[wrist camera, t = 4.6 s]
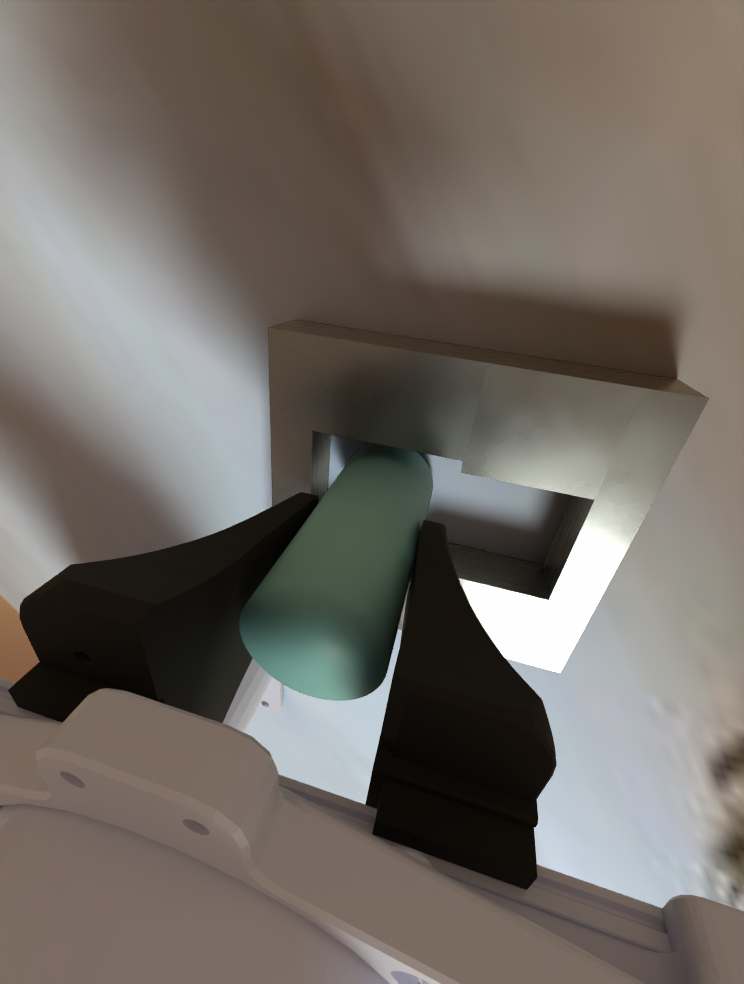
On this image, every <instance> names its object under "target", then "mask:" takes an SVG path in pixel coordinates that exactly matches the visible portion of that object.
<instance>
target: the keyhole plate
mask: <svg viewBox="0 0 744 984" xmlns="http://www.w3.org/2000/svg"><path fill="white" fill-rule="evenodd" d="M268 342H269V384H270V426H271V467H272V507H273V506H275V505H277V504H278V503H280V502H282V501H284V500H286V499H288V498H290V497H292V496H294V495H296V494H298V493H300V492H304V493H308V494H313V495H317V496H319V502H320V501H321V499H322V498H323V496H324V495H325V494H326V492H327V491H328V477H329V460H330V443H331V435H336V436H341V437H346V438H351V439H356V440H361V441H366V442H371V443H376V444H381V445H386V446H391V447H396V448H401V449H406V450H411V451H416V452H421V453H426V454H431V455H436V456H441V457H446V458H451V459H456V460H461V461H463V464H462V471H461V473H466V474H471V475H476V476H481V477H485V478H490V479H495V480H500V481H505V482H510V483H515V484H520V485H524V486H529V487H534V488H539V489H544V490H549V491H554V492H558V493H563V494H568V495H572V496H571V498H570V500H569V503H568V505H567V508H566V510H565V512H564V515H563V517H562V520H561V522H560V524H559V527H558V529H557V532H556V534H555V536H554V539H553V541H552V544H551V546H550V548H549V551H548V553H547V555H546V558H545V560H544V563H543V565H541V564H537V563H532V562H528V561H524V560H519V559H515V558H511V557H507V556H502V555H498V554H494V553H490V552H485V551H481V550H477V549H472V548H468V547H464V546H460V545H455V544H451V543H448V547H449V551H450V554H451V558H452V561H453V564H454V567H455V570H456V573H457V575H458V578H459V581H460V583H461V585H462V588H463V590H464V592H465V594H466V597H467V599H468V601H469V603H470V605H471V606H472V608H473V610H474V612H475V614H476V616H477V617H478V619H479V621H480V622H481V624H482V626H483V627H484V629H485V631H486V632H487V634H488V635H489V636H490V638H491V639H492V641H493V642H494V644H495V645H496V647H497V648H498V649H499V651H500V652H501V654H502V655H503V656H504V657H505V658H507V659H511V660H514V661H518V662H522V663H525V664H529V665H533V666H536V667H540V668H544V669H547V670H551V671H555V672H558V673H560V672H561V671H562V669H563V667H564V665H565V663H566V661H567V659H568V658H569V656H570V654H571V652H572V650H573V648H574V647H575V645H576V643H577V641H578V639H579V637H580V636H581V634H582V632H583V630H584V628H585V626H586V625H587V623H588V621H589V619H590V617H591V615H592V613H593V612H594V610H595V608H596V606H597V604H598V602H599V601H600V599H601V597H602V595H603V593H604V591H605V590H606V588H607V586H608V584H609V582H610V580H611V579H612V577H613V575H614V573H615V571H616V569H617V567H618V566H619V564H620V562H621V560H622V558H623V556H624V555H625V553H626V551H627V549H628V547H629V545H630V544H631V542H632V540H633V538H634V536H635V534H636V533H637V531H638V529H639V527H640V525H641V523H642V521H643V520H644V518H645V516H646V514H647V512H648V510H649V509H650V507H651V505H652V503H653V501H654V499H655V498H656V496H657V494H658V492H659V490H660V488H661V487H662V485H663V483H664V481H665V479H666V477H667V475H668V474H669V472H670V470H671V468H672V466H673V464H674V463H675V461H676V459H677V457H678V455H679V453H680V452H681V450H682V448H683V446H684V444H685V442H686V441H687V439H688V437H689V435H690V433H691V431H692V429H693V428H694V426H695V424H696V422H697V420H698V418H699V417H700V415H701V413H702V411H703V409H704V407H705V406H706V404H707V402H708V400H709V398H707V397H706V396H704V395H702V394H701V393H699V392H698V391H696V390H694V389H693V388H691V387H689V386H688V385H686V384H685V383H683V382H681V381H680V380H678V379H672V378H666V377H659V376H653V375H646V374H640V373H633V372H627V371H621V370H614V369H608V368H601V367H595V366H589V365H582V364H576V363H569V362H563V361H557V360H550V359H544V358H537V357H531V356H525V355H518V354H512V353H505V352H499V351H493V350H486V349H480V348H473V347H467V346H460V345H454V344H448V343H441V342H435V341H428V340H422V339H416V338H409V337H403V336H396V335H390V334H384V333H377V332H371V331H364V330H358V329H352V328H345V327H339V326H332V325H326V324H320V323H313V322H307V321H300V320H292V321H289V322H286V323H282V324H279V325H275V326H272V327H268ZM319 502H318V503H319ZM409 583H410V582H409ZM408 588H409V586H408ZM407 593H408V590H407ZM406 598H407V594H406ZM406 598H405V602H404V606H403V610H402V614H401V618H400V622H399V626H398V629H401V630H402V629H403V621H404V613H405V606H406Z"/></svg>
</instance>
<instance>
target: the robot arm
mask: <svg viewBox="0 0 744 984" xmlns="http://www.w3.org/2000/svg"><path fill="white" fill-rule="evenodd" d="M318 502H319V496H317V495H313V494H308V493H304V492H300V493H298V494H296V495H294V496H292V497H290V498H288V499H286V500H284V501H282V502H280V503H278V504H277V505H275V506H273V507H271V508H269V509H267V510H265V511H263V512H261V513H259V514H257V515H255V516H253V517H251V518H249V519H247V520H245V521H242V522H240V523H238V524H236V525H234V526H231V527H229V528H227V529H224V530H222V531H219V532H217V533H214V534H212V535H209V536H206V537H203V538H200V539H197V540H194V541H191V542H188V543H184V544H180V545H177V546H173V547H170V548H166V549H162V550H158V551H154V552H149V553H145V554H140V555H135V556H130V557H124V558H118V559H112V560H105V561H97V562H90V563H82V564H73V565H70V566H68V567H67V568H66V569H64V570H63V571H62V572H60V573H59V574H57V575H56V576H55V577H53V578H52V579H51V580H49V581H48V582H46V583H45V584H44V585H42V586H41V587H40V588H38V589H37V590H35V591H34V592H33V593H31V594H30V595H28V596H27V597H26V598H24V600H23V601H22V603H21V605H20V620H21V623H22V626H23V628H24V630H25V632H26V634H27V636H28V638H29V641H30V642H31V645H32V647H33V649H34V651H35V653H36V655H37V657H38V659H39V661H40V662H39V663H38V664H37V665H36V666H35V667H33V668H32V669H31V670H30V671H29V672H28V673H27V674H26V675H24V676H23V677H22V678H21V679H20V680H19V681H18V682H16V683H14V682H12V681H9V680H6V679H3V678H0V984H744V911H741V910H738V909H735V908H732V907H729V906H726V905H723V904H720V903H717V902H714V901H711V900H708V899H706V898H702V897H698V896H694V895H679V896H676V897H673V898H672V899H670V900H669V901H668V902H667V903H666V905H665V906H664V907H663V908H660V907H657V906H654V905H651V904H648V903H645V902H642V901H640V900H637V899H634V898H631V897H628V896H625V895H622V894H620V893H617V892H614V891H611V890H608V889H605V888H602V887H599V886H597V885H594V884H591V883H588V882H585V881H582V880H579V879H577V878H574V877H571V876H568V875H565V874H562V873H559V872H556V871H554V870H551V869H548V868H545V867H542V866H539V865H537V864H536V851H535V838H534V827H536V826H537V823H538V812H537V800H536V799H537V798H538V796H539V795H540V793H541V792H542V790H543V789H544V787H545V786H546V784H547V783H548V781H549V780H550V778H551V777H552V775H553V773H554V770H555V767H556V754H555V746H554V741H553V736H552V732H551V728H550V725H549V721H548V717H547V714H546V711H545V708H544V704H543V701H542V699H541V698H540V697H539V696H538V695H537V694H536V693H535V691H534V690H533V689H532V688H531V687H530V686H529V685H528V684H527V683H526V682H525V681H524V680H523V679H522V677H521V676H520V675H519V674H518V673H517V672H516V671H515V670H514V669H513V667H512V666H511V665H510V664H509V662H508V661H507V660H506V659H505V657H504V656H503V655H502V654H501V652H500V651H499V649H498V648H497V647H496V645H495V644H494V642H493V641H492V639H491V638H490V636H489V635H488V634H487V632H486V631H485V629H484V627H483V626H482V624H481V622H480V621H479V619H478V617H477V616H476V614H475V612H474V610H473V608H472V606H471V605H470V603H469V601H468V599H467V597H466V594H465V592H464V590H463V588H462V585H461V583H460V581H459V578H458V575H457V573H456V570H455V567H454V564H453V561H452V558H451V554H450V551H449V547H448V542H447V537H446V528H445V526H444V525H443V524H440V523H436V522H431V521H427V520H423V523H422V526H421V530H420V534H419V539H418V544H417V549H416V555H415V561H414V567H413V571H412V575H411V579H410V583H409V588H408V593H407V598H406V606H405V613H404V621H403V629H402V636H401V644H400V649H399V653H398V657H397V661H396V665H395V669H394V674H393V679H392V683H391V688H390V693H389V698H388V702H387V707H386V712H385V717H384V721H383V726H382V731H381V736H380V740H379V744H378V749H377V753H376V757H375V762H374V766H373V771H372V776H371V781H370V786H369V790H368V795H367V800H366V805H364V804H362V803H359V802H356V801H353V800H350V799H347V798H344V797H341V796H339V795H336V794H333V793H330V792H327V791H324V790H321V789H319V788H316V787H313V786H310V785H307V784H304V783H301V782H298V781H296V780H293V779H290V778H287V777H284V776H281V775H279V774H278V771H277V768H276V765H275V763H274V761H273V759H272V756H271V754H270V752H269V751H268V750H267V749H266V748H264V747H263V746H262V745H261V744H260V743H259V742H258V741H257V740H255V739H254V738H253V737H252V736H250V735H248V734H245V733H244V731H245V730H246V728H247V726H248V724H249V722H250V720H251V718H252V716H253V714H254V712H255V710H256V709H257V707H258V706H260V707H263V708H266V709H269V710H272V711H279V710H280V709H281V707H282V705H283V684H282V683H280V682H279V681H277V680H276V679H274V678H273V677H272V676H270V675H269V674H268V673H267V672H266V671H264V670H263V669H262V668H261V667H260V666H259V665H258V664H257V663H256V661H255V660H254V659H253V658H252V656H251V655H250V653H249V652H248V650H247V649H246V647H245V645H244V642H243V640H242V637H241V633H240V615H241V612H242V610H243V608H244V606H245V605H246V603H247V602H248V600H249V599H250V598H251V596H252V595H253V593H254V592H255V591H256V589H257V588H258V586H259V585H260V584H261V582H262V581H263V580H264V578H265V577H266V575H267V574H268V573H269V571H270V570H271V568H272V567H273V566H274V564H275V563H276V562H277V560H278V559H279V557H280V556H281V555H282V553H283V552H284V550H285V549H286V548H287V546H288V545H289V544H290V542H291V541H292V539H293V538H294V537H295V535H296V534H297V532H298V531H299V530H300V528H301V527H302V525H303V524H304V523H305V521H306V520H307V519H308V517H309V516H310V514H311V513H312V512H313V510H314V509H315V507H316V506H317V505H318Z"/></svg>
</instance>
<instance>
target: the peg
mask: <svg viewBox="0 0 744 984" xmlns="http://www.w3.org/2000/svg"><path fill="white" fill-rule="evenodd" d="M432 490H433V479H432V474H431V471H430V469H429V467H428V465H427V463H426V462H425V460H424V459H423V458H422V457H421V456H420V455H419V454H418V453H417V452H416V451H411V450H406V449H401V448H396V447H391V446H386V445H381V444H376V443H370V444H367V445H365V446H363V447H362V448H360V449H359V450H358V451H357V452H356V453H355V454H354V455H353V456H352V458H351V459H350V460H349V462H348V463H347V465H346V466H345V467H344V469H343V470H342V471H341V473H340V474H339V476H338V477H337V478H336V480H335V481H334V483H333V484H332V485H331V487H330V488H329V489H328V491H327V492H326V494H325V495H324V496H323V498H322V499H321V501H320V502H319V503H318V505H317V506H316V507H315V509H314V510H313V512H312V513H311V514H310V516H309V517H308V519H307V520H306V521H305V523H304V524H303V525H302V527H301V528H300V530H299V531H298V532H297V534H296V535H295V537H294V538H293V539H292V541H291V542H290V544H289V545H288V546H287V548H286V549H285V550H284V552H283V553H282V555H281V556H280V557H279V559H278V560H277V562H276V563H275V564H274V566H273V567H272V568H271V570H270V571H269V573H268V574H267V575H266V577H265V578H264V580H263V581H262V582H261V584H260V585H259V586H258V588H257V589H256V591H255V592H254V593H253V595H252V596H251V598H250V599H249V600H248V602H247V603H246V605H245V606H244V608H243V610H242V612H241V615H240V633H241V637H242V640H243V642H244V645H245V647H246V649H247V650H248V652H249V653H250V655H251V656H252V658H253V659H254V660H255V661H256V663H257V664H258V665H259V666H260V667H261V668H262V669H263V670H264V671H266V672H267V673H268V674H269V675H270V676H272V677H273V678H274V679H276V680H277V681H279V682H280V683H282V684H284V685H285V686H287V687H289V688H291V689H293V690H295V691H298V692H300V693H303V694H306V695H308V696H312V697H316V698H320V699H326V700H352V699H357V698H361V697H363V696H366V695H368V694H370V693H371V692H373V691H374V690H376V689H377V688H378V687H379V686H380V685H381V683H382V682H383V680H384V678H385V677H386V673H387V670H388V666H389V662H390V658H391V654H392V650H393V646H394V642H395V638H396V634H397V630H398V626H399V622H400V618H401V614H402V610H403V606H404V602H405V598H406V594H407V590H408V586H409V582H410V579H411V575H412V571H413V567H414V561H415V555H416V549H417V544H418V539H419V534H420V530H421V526H422V523H423V520H425V519H426V515H427V511H428V507H429V503H430V499H431V495H432Z"/></svg>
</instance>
